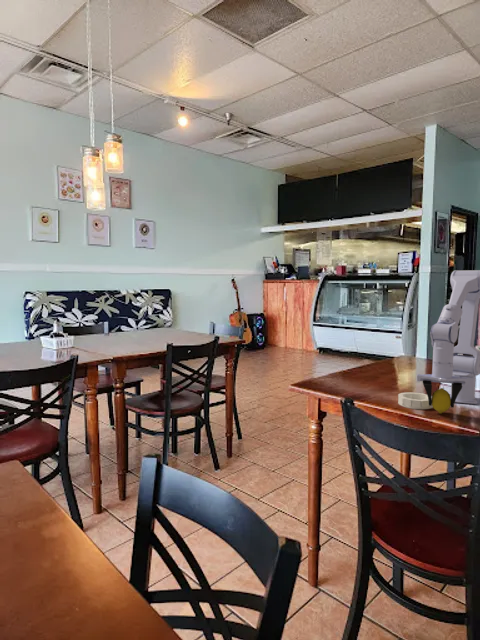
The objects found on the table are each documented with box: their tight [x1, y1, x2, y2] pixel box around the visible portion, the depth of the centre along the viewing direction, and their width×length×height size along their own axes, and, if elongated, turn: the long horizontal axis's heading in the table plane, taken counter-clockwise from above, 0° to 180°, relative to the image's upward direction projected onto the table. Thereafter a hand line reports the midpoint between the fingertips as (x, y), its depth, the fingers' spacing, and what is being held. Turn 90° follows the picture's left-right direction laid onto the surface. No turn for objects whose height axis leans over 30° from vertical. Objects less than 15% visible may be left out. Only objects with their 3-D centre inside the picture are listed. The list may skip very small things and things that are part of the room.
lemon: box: [431, 387, 451, 415], centre depth 137 cm, size 6×6×8 cm
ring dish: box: [397, 391, 434, 410], centre depth 147 cm, size 11×11×3 cm
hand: (440, 405), depth 137 cm, fingers closed on lemon, 6 cm apart
